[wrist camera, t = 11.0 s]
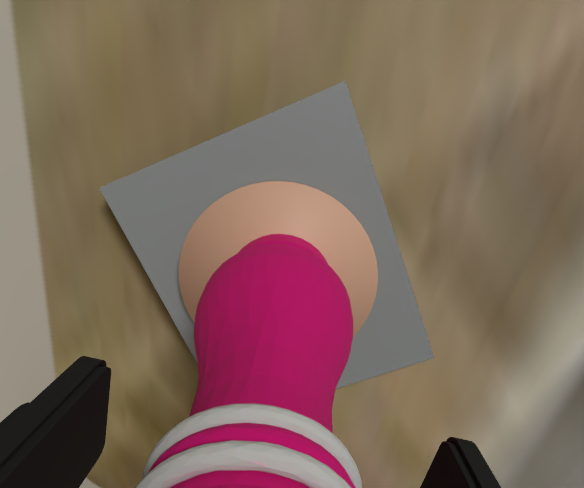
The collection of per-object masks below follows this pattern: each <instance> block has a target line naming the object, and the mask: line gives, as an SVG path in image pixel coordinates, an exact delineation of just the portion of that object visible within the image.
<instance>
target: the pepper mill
mask: <svg viewBox="0 0 584 488" xmlns="http://www.w3.org/2000/svg"><path fill="white" fill-rule="evenodd" d="M352 340H353V316H352V310H351V304H350V298H349V296H348V293H347V290H346V288H345V286H344V284H343V282H342V281H341V279H340V277H339V276H338V275H337V274H336V272H335V271H334V270H333V269H332V268H331V267H330V266H329V265H328V263H327V261H326V259H325V258H324V256H323V255H322V254H321V252H320V251H319V250H318V249H317V248H316V247H314V246H313V245H312V244H311V243H309V242H307V241H306V240H304V239H302V238H299V237H296V236H293V235H287V234H270V235H266V236H262V237H260V238H257V239H255V240H253V241H251V242H250V243H248V244H247V245H246V246H244V247H243V248H242V249H241V250H240V251H239V252H238V253H237V254H236V255H234V256H232V257H231V258H229V259H228V260H226V261H225V262H224V263H222V264H221V266H220V267H219V268H218V269H217V270H216V271H215V272H214V273H213V274H212V276H211V278H210V279H209V281H208V282H207V284H206V286H205V288H204V291H203V293H202V295H201V297H200V300H199V302H198V305H197V310H196V315H195V322H194V346H195V351H196V356H197V361H198V371H199V381H198V389H197V392H196V396H195V399H194V403H193V406H192V410H191V413H190V416H189V417H188V418H186V419H184V420H183V421H182V422H180V423H179V424H177V425H176V426H175V427H173V428H172V429H170V430H169V431H168V432H167V433H166V434H165V435H164V436H163V437H162V438H161V439H160V441H159V442H158V443H157V444H156V446H155V447H154V449H153V451H152V452H151V454H150V456H149V458H148V460H147V463H146V466H145V468H144V473H143V479H142V480H141V481H140V483H139V484H138V485H137V486H136V487H135V488H362V483H361V478H360V475H359V472H358V468H357V466H356V464H355V462H354V460H353V458H352V457H351V455H350V453H349V451H348V450H347V449H346V447H345V446H344V444H343V443H342V442H341V441H340V440H339V439H338V438H337V437H336V436H335V435H334V434H333V432H332V405H333V399H334V393H335V389H336V387H337V384H338V382H339V380H340V378H341V375H342V373H343V371H344V369H345V366H346V364H347V361H348V359H349V355H350V351H351V346H352Z"/></svg>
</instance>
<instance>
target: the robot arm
mask: <svg viewBox="0 0 584 488" xmlns="http://www.w3.org/2000/svg"><path fill="white" fill-rule="evenodd" d="M110 379H111V369H110V368H108V367H106V362H105V361H104V360H100V359H95V358H91V357H86V356H82V357H80V358H79V359H77V360H76V361H75V362H74V363H73V364H72V365H71V366H70V367H69V368H68V369H66V370H65V371H64V372H63V373H62V374H61V375H60V376H59V377H58V378H57V379H56V380H54V381H53V382H52V383H51V384H50V385H49V386H48V387H47V388H46V389H45V390H43V391H42V392H41V393H40V394H39V395H38V396H37V397H36V398H35V399H34V400H33V401H32V402H30V403H25V404H23V405H21V406H19V407H18V408H17V409H15V410H14V411H13V412H12V413H11V414H10V415H9V416H7V417H6V418H5V419H4V420H3V421H2V422H1V423H0V488H79V487H80V485H81V484H82V482H83V481H84V479H85V478H86V476H87V475H88V473H89V472H90V470H91V469H92V467H93V466H94V464H95V463H96V461H97V460H98V458H99V457H100V455H101V453H102V450H103V448H104V445H105V436H106V425H107V413H108V402H109V390H110ZM420 488H501V487H500V485H499V483H498V481H497V480H496V478H495V476H494V475H493V473H492V471H491V470H490V468H489V466H488V465H487V463H486V461H485V459H484V458H483V456H482V454H481V453H480V451H479V449H478V448H477V446H476V445H475V443H473V442H472V441H468V440H463V439H459V438H454V437H450V438H448V439H447V441H446V442H445V441H444V442H442V443H441V445H440V447H439V449H438V451H437V453H436V455H435V457H434V460H433V462H432V464H431V466H430V468H429V470H428V472H427V474H426V477H425V479H424V481H423V483H422V485H421V487H420Z"/></svg>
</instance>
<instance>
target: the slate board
mask: <svg viewBox="0 0 584 488" xmlns="http://www.w3.org/2000/svg"><path fill="white" fill-rule="evenodd" d="M99 189H100V190H101V192H102V194H103V196H104V198H105V199H106V201H107V203H108V205H109V207H110V208H111V210H112V212H113V214H114V216H115V217H116V219H117V221H118V223H119V224H120V226H121V228H122V230H123V232H124V233H125V235H126V237H127V239H128V241H129V242H130V244H131V246H132V248H133V250H134V251H135V253H136V255H137V257H138V258H139V260H140V262H141V264H142V266H143V267H144V269H145V271H146V273H147V275H148V276H149V278H150V280H151V282H152V284H153V285H154V287H155V289H156V291H157V292H158V294H159V296H160V298H161V300H162V301H163V303H164V305H165V307H166V309H167V310H168V312H169V314H170V316H171V318H172V319H173V321H174V323H175V325H176V326H177V328H178V330H179V332H180V334H181V335H182V337H183V339H184V341H185V343H186V344H187V346H188V348H189V350H190V352H191V353H192V355H193V357H194V359H195V360H196V362H197V364H198V361H197V356H196V351H195V346H194V322H195V315H196V310H197V305H198V302H199V300H200V297H201V295H202V293H203V291H204V288H205V286H206V284H207V282H208V281H209V279H210V278H211V276H212V274H213V273H214V272H215V271H216V270H217V269H218V268H219V267H220V266H221V264H222V263H224V262H225V261H226V260H228V259H229V258H231V257H232V256H234V255H236V254H237V253H238V252H239V251H240V250H241V249H242V248H243V247H244V246H246V245H247V244H248V243H250V242H251V241H253V240H255V239H257V238H260V237H262V236H266V235H270V234H287V235H293V236H296V237H299V238H302V239H304V240H306V241H307V242H309V243H311V244H312V245H313V246H314V247H316V248H317V249H318V250H319V251H320V252H321V254H322V255H323V256H324V258H325V259H326V261H327V263H328V265H329V266H330V267H331V268H332V269H333V270H334V271H335V272H336V274H337V275H338V276H339V277H340V279H341V281H342V282H343V284H344V286H345V288H346V290H347V293H348V296H349V298H350V304H351V310H352V316H353V340H352V346H351V351H350V355H349V359H348V361H347V364H346V366H345V369H344V371H343V373H342V375H341V378H340V380H339V382H338V384H337V387H336V389H337V388H340V387H343V386H347V385H350V384H353V383H356V382H359V381H362V380H366V379H369V378H372V377H375V376H378V375H381V374H385V373H388V372H391V371H394V370H397V369H400V368H404V367H407V366H410V365H413V364H416V363H419V362H423V361H426V360H429V359H432V358H434V355H433V352H432V349H431V346H430V343H429V340H428V337H427V333H426V330H425V327H424V324H423V321H422V318H421V315H420V312H419V309H418V305H417V302H416V299H415V296H414V293H413V290H412V287H411V284H410V281H409V277H408V274H407V271H406V268H405V265H404V262H403V259H402V256H401V253H400V249H399V246H398V243H397V240H396V237H395V234H394V231H393V228H392V225H391V221H390V218H389V215H388V212H387V209H386V206H385V203H384V200H383V197H382V193H381V190H380V187H379V184H378V181H377V178H376V175H375V172H374V169H373V165H372V162H371V159H370V156H369V153H368V150H367V147H366V144H365V141H364V137H363V134H362V131H361V128H360V125H359V122H358V119H357V116H356V113H355V109H354V106H353V103H352V100H351V97H350V94H349V91H348V88H347V85H346V81H344V82H341V83H339V84H337V85H334V86H332V87H330V88H327V89H325V90H323V91H321V92H318V93H316V94H314V95H311V96H309V97H307V98H305V99H302V100H300V101H298V102H295V103H293V104H291V105H288V106H286V107H284V108H282V109H279V110H277V111H275V112H272V113H270V114H268V115H265V116H263V117H261V118H259V119H256V120H254V121H252V122H249V123H247V124H245V125H243V126H240V127H238V128H236V129H233V130H231V131H229V132H226V133H224V134H222V135H220V136H217V137H215V138H213V139H210V140H208V141H206V142H203V143H201V144H199V145H197V146H194V147H192V148H190V149H187V150H185V151H183V152H181V153H178V154H176V155H174V156H171V157H169V158H167V159H164V160H162V161H160V162H158V163H155V164H153V165H151V166H148V167H146V168H144V169H141V170H139V171H137V172H135V173H132V174H130V175H128V176H125V177H123V178H121V179H119V180H116V181H114V182H112V183H109V184H107V185H105V186H102V187H100V188H99Z"/></svg>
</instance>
